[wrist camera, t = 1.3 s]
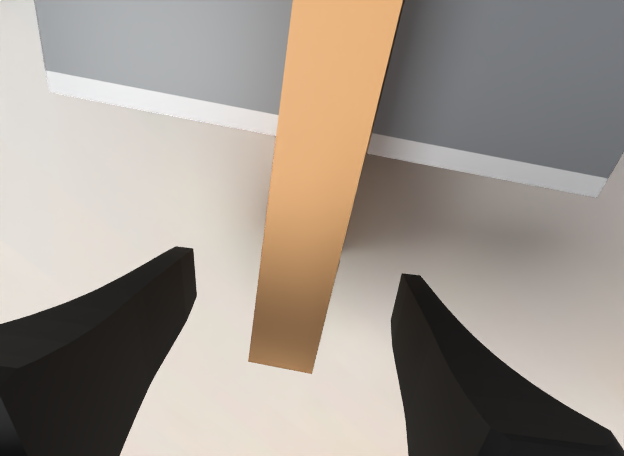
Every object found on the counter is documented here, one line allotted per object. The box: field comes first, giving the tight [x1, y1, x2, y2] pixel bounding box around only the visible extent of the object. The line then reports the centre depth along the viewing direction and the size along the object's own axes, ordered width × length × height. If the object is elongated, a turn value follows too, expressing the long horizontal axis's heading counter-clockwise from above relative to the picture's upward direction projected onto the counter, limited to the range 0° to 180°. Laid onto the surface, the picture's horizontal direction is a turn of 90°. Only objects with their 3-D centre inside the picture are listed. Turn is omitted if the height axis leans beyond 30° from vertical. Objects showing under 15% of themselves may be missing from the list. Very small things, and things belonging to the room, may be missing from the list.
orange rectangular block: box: [248, 0, 403, 374], centre depth 12 cm, size 11×2×7 cm, turn 171°
